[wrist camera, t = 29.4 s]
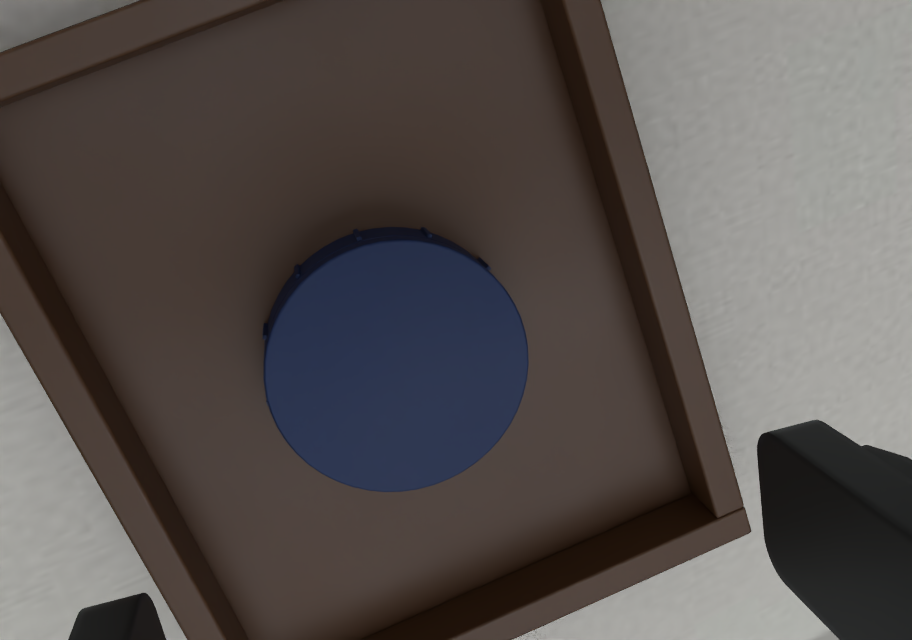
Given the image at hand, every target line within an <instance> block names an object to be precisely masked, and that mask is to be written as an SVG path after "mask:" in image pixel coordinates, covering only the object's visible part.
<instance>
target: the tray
mask: <svg viewBox="0 0 912 640" xmlns="http://www.w3.org/2000/svg"><path fill="white" fill-rule="evenodd" d="M383 227H406V228H412V229H418V230H421V227H425V228H426V229H427V230H428V231H429V232H430V233H433V234H436V235H439V236H441V237H443V238H446V239H448V240H450V241H452V242H454V243H455V244H457V245H459V246H460V247H462V248H463V249H465V250H466V251H468V252H469V253H470V254H471V255H472V256H473V257H475V258H476V259H478V258H479V257H480V258H481V259H482V260H483V261H484V262H485V263H486V264H488V265H489V266H490V267H491V270H490V272H491V273H492V274H493V275H494V276H495V278H496V279H497V280H498V281H499V282H500V283H501V284H502V285H503V286H504V288H505V289H506V291H507V292H508V294H509V295H510V297H511V298H512V300H513V301H514V303H515V306H516V308H517V310H518V312H519V314H520V316H521V319H522V322H523V325H524V329H525V332H526V338H527V344H528V360H529V364H528V375H527V381H526V386H525V390H524V394H523V397H522V400H521V403H520V405H519V408H518V411H517V412H516V414H515V416H514V418H513V420H512V422H511V424H510V426H509V427H508V429H507V430H506V431H505V433H504V434H503V436H502V437H501V439H500V440H499V441H498V442H497V443H496V444H495V445H494V447H493V448H492V449H491V450H490V451H489V452H488V453H487V454H486V455H484V456H483V457H482V458H481V459H480V460H479V461H478V462H476V463H475V464H473V465H472V466H471V467H469V468H468V469H466V470H465V471H463V472H461V473H459V474H458V475H456V476H454V477H452V478H450V479H448V480H445V481H443V482H440V483H438V484H435V485H432V486H429V487H425V488H421V489H417V490H410V491H403V492H379V491H368V490H364V489H359V488H355V487H351V486H348V485H345V484H343V483H340V482H337V481H335V480H333V479H331V478H329V477H327V476H325V475H323V474H321V473H320V472H319V471H317V470H316V469H314V468H313V467H311V466H310V465H308V464H307V463H306V462H305V461H304V460H303V459H302V458H301V457H300V456H298V455H297V454H296V453H295V451H294V450H293V449H292V448H291V447H290V445H289V444H288V443H287V442H286V441H285V439H284V437H283V436H282V434H281V433H280V431H279V429H278V428H277V426H276V424H275V421H274V419H273V417H272V415H271V412H270V409H269V406H267V403H266V394H265V386H264V342H265V340H264V339H262V337H263V325H264V323H267V324H268V320H269V317H270V313H271V310H272V308H273V306H274V303H275V301H276V299H277V297H278V295H279V293H280V291H281V290H282V288H283V287H284V285H285V283H286V282H287V280H288V279H289V278H290V277H291V276H292V274H293V273H294V272H295V271H294V267H295V266H296V265H297V264H298V265H299V266H300V265H301V264H303V263H304V262H305V261H306V260H307V259H308V258H309V257H310V256H311V255H313V254H314V253H316V252H317V251H319V250H320V249H321V248H323V247H324V246H326V245H328V244H330V243H332V242H334V241H336V240H337V239H339V238H342V237H345V236H347V235H350V234H353V230H354V229H358V231H364V230H368V229H373V228H383ZM0 313H1V315H2V317H3V319H4V320H5V322H6V324H7V326H8V327H9V329H10V331H11V333H12V334H13V336H14V338H15V339H16V341H17V343H18V345H19V346H20V348H21V350H22V352H23V353H24V355H25V357H26V359H27V360H28V362H29V364H30V366H31V367H32V369H33V371H34V373H35V374H36V376H37V378H38V380H39V381H40V383H41V385H42V387H43V388H44V390H45V392H46V394H47V395H48V397H49V399H50V401H51V402H52V404H53V406H54V408H55V409H56V411H57V413H58V415H59V416H60V418H61V420H62V422H63V423H64V425H65V427H66V429H67V430H68V432H69V434H70V435H71V437H72V439H73V441H74V442H75V444H76V446H77V448H78V449H79V451H80V453H81V455H82V456H83V458H84V460H85V462H86V463H87V465H88V467H89V469H90V470H91V472H92V474H93V476H94V477H95V479H96V481H97V483H98V484H99V486H100V488H101V490H102V491H103V493H104V495H105V497H106V498H107V500H108V502H109V504H110V505H111V507H112V509H113V511H114V512H115V514H116V516H117V518H118V519H119V521H120V523H121V524H122V526H123V528H124V530H125V531H126V533H127V535H128V537H129V538H130V540H131V542H132V544H133V545H134V547H135V549H136V551H137V552H138V554H139V556H140V558H141V559H142V561H143V563H144V565H145V566H146V568H147V570H148V572H149V573H150V575H151V577H152V579H153V580H154V582H155V584H156V586H157V587H158V589H159V591H160V593H161V594H162V596H163V598H164V600H165V601H166V603H167V605H168V607H169V608H170V610H171V612H172V614H173V615H174V617H175V619H176V620H177V622H178V624H179V626H180V627H181V629H182V631H183V633H184V634H185V636H186V638H187V640H512V639H514V638H517V637H519V636H521V635H523V634H526V633H528V632H530V631H532V630H535V629H537V628H539V627H541V626H543V625H546V624H548V623H550V622H552V621H555V620H557V619H559V618H561V617H563V616H566V615H568V614H570V613H572V612H575V611H577V610H579V609H581V608H584V607H586V606H588V605H590V604H592V603H595V602H597V601H599V600H601V599H604V598H606V597H608V596H610V595H613V594H615V593H617V592H619V591H621V590H624V589H626V588H628V587H630V586H633V585H635V584H637V583H639V582H642V581H644V580H646V579H648V578H650V577H653V576H655V575H657V574H659V573H662V572H664V571H666V570H668V569H671V568H673V567H675V566H677V565H679V564H682V563H684V562H686V561H688V560H691V559H693V558H695V557H697V556H699V555H702V554H704V553H706V552H708V551H711V550H713V549H715V548H717V547H720V546H722V545H724V544H726V543H728V542H731V541H733V540H735V539H737V538H740V537H742V536H744V535H746V534H749V533H750V532H751V528H750V525H749V521H748V518H747V514H746V511H745V508H744V507H743V505H744V504H743V501H742V497H741V493H740V490H739V486H738V483H737V479H736V476H735V472H734V469H733V465H732V462H731V458H730V455H729V451H728V448H727V444H726V441H725V437H724V434H723V430H722V427H721V423H720V420H719V416H718V413H717V409H716V406H715V402H714V398H713V395H712V391H711V388H710V384H709V381H708V377H707V374H706V370H705V367H704V363H703V360H702V356H701V353H700V349H699V346H698V342H697V339H696V335H695V332H694V328H693V325H692V321H691V318H690V314H689V311H688V307H687V303H686V300H685V296H684V293H683V289H682V286H681V282H680V279H679V275H678V272H677V268H676V265H675V261H674V258H673V254H672V251H671V247H670V244H669V240H668V237H667V233H666V230H665V226H664V223H663V219H662V216H661V212H660V208H659V205H658V201H657V198H656V194H655V191H654V187H653V184H652V180H651V177H650V173H649V170H648V166H647V163H646V159H645V156H644V152H643V149H642V145H641V142H640V138H639V135H638V131H637V128H636V124H635V121H634V117H633V113H632V110H631V106H630V103H629V99H628V96H627V92H626V89H625V85H624V82H623V78H622V75H621V71H620V68H619V64H618V61H617V57H616V54H615V50H614V47H613V43H612V40H611V36H610V33H609V29H608V26H607V22H606V18H605V15H604V11H603V8H602V4H601V1H600V0H140V1H137V2H134V3H132V4H129V5H126V6H124V7H121V8H118V9H116V10H113V11H110V12H107V13H105V14H102V15H99V16H97V17H94V18H91V19H89V20H86V21H83V22H81V23H78V24H75V25H72V26H70V27H67V28H64V29H62V30H59V31H56V32H54V33H51V34H48V35H46V36H43V37H40V38H38V39H35V40H32V41H29V42H27V43H24V44H21V45H19V46H16V47H13V48H11V49H8V50H5V51H3V52H0Z"/></svg>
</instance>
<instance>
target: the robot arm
mask: <svg viewBox="0 0 912 640" xmlns="http://www.w3.org/2000/svg"><path fill="white" fill-rule="evenodd" d="M757 456H758V469H759V481H760V493H761V505H762V517H763V529H764V539H765V544H766V548H767V551H768V554H769V557H770V559H771V562H772V564H773V566H774V568H775V570H776V572H777V573H778V575H779V577H780V578H781V579H782V581H783V582H784V583H785V584H786V585H787V586H788V587H789V588H790V589H791V590H792V592H793V593H794V594H795V595H796V596H797V597H798V598H799V599H800V600H801V601H802V602H803V603H804V604H805V605H806V606H807V607H808V608H809V609H810V610H811V611H812V612H813V613H814V614H815V615H816V616H817V617H818V618H819V619H820V620H821V621H822V622H823V623H824V624H825V625H826V626H827V627H828V628H829V629H830V630H831V631H832V632H833V633H834V634H835V635H836V636H837V637H838V638H839V640H912V460H911V459H909V458H908V457H905V456H901V455H898V454H895V453H892V452H888V451H885V450H882V449H879V448H875V447H872V446H869V445H865V446H860V445H858V444H857V443H855V442H853V441H852V440H850V439H849V438H847V437H846V436H844V435H843V434H841V433H840V432H838V431H837V430H835V429H833V428H832V427H830V426H829V425H827V424H826V423H824V422H822V421H820V420H812V421H808V422H805V423H801V424H797V425H793V426H789V427H785V428H782V429H778V430H774V431H770V432H766V433H764V434H762V435H761V436H760V438H759V440H758V445H757ZM68 640H166V638H165V635H164V632H163V629H162V626H161V623H160V620H159V617H158V614H157V611H156V608H155V606H154V604H153V601H152V600H151V598H150V597H149V595H148V594H146V593H141V594H137V595H133V596H129V597H126V598H122V599H118V600H114V601H110V602H106V603H102V604H99V605H95V606H91V607H87V608H84V609H82V610H81V611H80V612H79V614H78V616H77V618H76V621H75V623H74V626H73V629H72V631H71V634H70V637H69V639H68Z"/></svg>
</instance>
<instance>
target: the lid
mask: <svg viewBox="0 0 912 640" xmlns="http://www.w3.org/2000/svg"><path fill="white" fill-rule="evenodd" d="M490 270H491V267H490V266H489V265H488V264H486V263H485V262H484V261H483V260H482V259H481V258H480V257H479V258H478V259H476V258H475V257H473V256H472V255H471V254H470V253H469V252H468V251H466V250H465V249H463V248H462V247H460V246H459V245H457V244H455V243H454V242H452V241H450V240H448V239H446V238H443V237H441V236H439V235H436V234H433V233H430V232H429V231H428V230H427V229H426V228H425V227H421V230H418V229H412V228H406V227H383V228H373V229H368V230H364V231H358V229H354V230H353V234H350V235H347V236H345V237H342V238H339V239H337V240H336V241H334V242H332V243H330V244H328V245H326V246H324V247H323V248H321V249H320V250H319V251H317V252H316V253H314V254H313V255H311V256H310V257H309V258H308V259H307V260H306V261H305V262H304V263H303V264H301V265H300V266H299V265H298V264H297V265H296V266H295V267H294V271H295V272H294V273H293V274H292V276H291V277H290V278H289V279H288V280H287V282H286V283H285V285H284V287H283V288H282V290H281V291H280V293H279V295H278V297H277V299H276V301H275V303H274V306H273V308H272V310H271V313H270V317H269V320H268V324H267V323H264V325H263V337H262V339H264V340H265V342H264V386H265V394H266V403H267V406H269V409H270V412H271V415H272V417H273V419H274V421H275V424H276V426H277V428H278V429H279V431H280V433H281V434H282V436H283V437H284V439H285V441H286V442H287V443H288V444H289V445H290V447H291V448H292V449H293V450H294V451H295V453H296V454H297V455H298V456H300V457H301V458H302V459H303V460H304V461H305V462H306V463H307V464H308V465H310V466H311V467H313V468H314V469H316V470H317V471H319V472H320V473H321V474H323V475H325V476H327V477H329V478H331V479H333V480H335V481H337V482H340V483H343V484H345V485H348V486H351V487H355V488H359V489H364V490H368V491H379V492H403V491H410V490H417V489H421V488H425V487H429V486H432V485H435V484H438V483H440V482H443V481H445V480H448V479H450V478H452V477H454V476H456V475H458V474H459V473H461V472H463V471H465V470H466V469H468V468H469V467H471V466H472V465H473V464H475V463H476V462H478V461H479V460H480V459H481V458H482V457H483V456H484V455H486V454H487V453H488V452H489V451H490V450H491V449H492V448H493V447H494V445H495V444H496V443H497V442H498V441H499V440H500V439H501V437H502V436H503V434H504V433H505V431H506V430H507V429H508V427H509V426H510V424H511V422H512V420H513V418H514V416H515V414H516V412H517V411H518V408H519V405H520V403H521V400H522V397H523V394H524V390H525V386H526V381H527V375H528V364H529V360H528V344H527V338H526V332H525V329H524V325H523V322H522V319H521V316H520V314H519V312H518V310H517V308H516V306H515V303H514V301H513V300H512V298H511V297H510V295H509V294H508V292H507V291H506V289H505V288H504V286H503V285H502V284H501V283H500V282H499V281H498V280H497V279H496V278H495V276H494V275H493V274H492V273H491V272H490Z"/></svg>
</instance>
